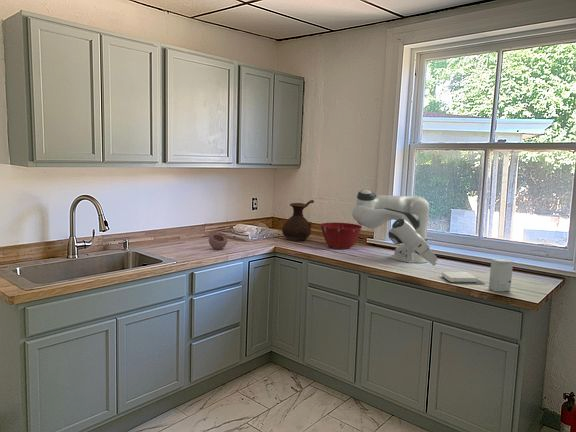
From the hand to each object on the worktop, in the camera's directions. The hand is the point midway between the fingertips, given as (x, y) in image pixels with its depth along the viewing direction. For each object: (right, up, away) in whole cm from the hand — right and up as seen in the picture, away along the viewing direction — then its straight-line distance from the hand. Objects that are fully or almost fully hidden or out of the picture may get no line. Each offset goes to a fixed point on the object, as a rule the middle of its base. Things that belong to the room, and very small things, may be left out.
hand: (434, 264), depth 238 cm
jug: (-69, +7, +104) cm, 125 cm away
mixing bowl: (-39, +3, +80) cm, 90 cm away
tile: (+7, -7, +2) cm, 10 cm away
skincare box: (+28, -11, -13) cm, 33 cm away
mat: (+16, -9, +3) cm, 19 cm away
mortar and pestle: (-121, +3, +62) cm, 136 cm away
